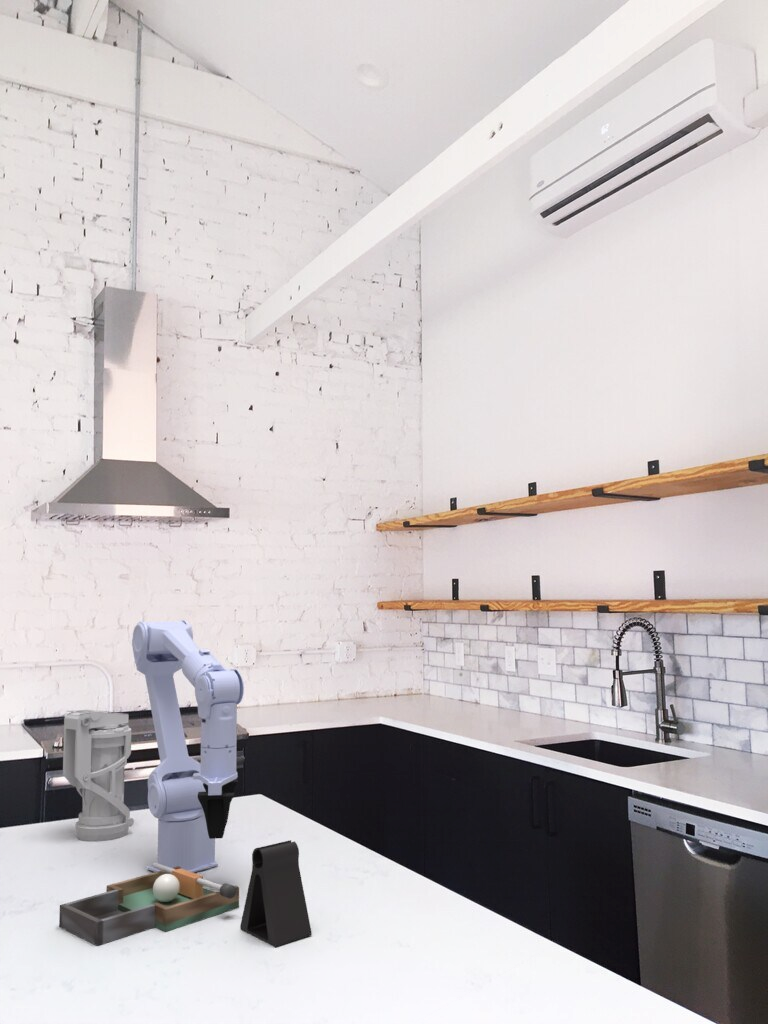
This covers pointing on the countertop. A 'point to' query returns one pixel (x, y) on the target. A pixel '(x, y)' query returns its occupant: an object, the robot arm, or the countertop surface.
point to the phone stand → (276, 896)
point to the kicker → (195, 883)
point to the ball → (166, 888)
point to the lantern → (98, 771)
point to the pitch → (137, 910)
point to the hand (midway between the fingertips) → (217, 831)
